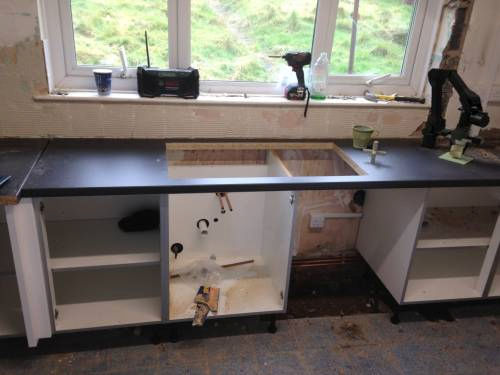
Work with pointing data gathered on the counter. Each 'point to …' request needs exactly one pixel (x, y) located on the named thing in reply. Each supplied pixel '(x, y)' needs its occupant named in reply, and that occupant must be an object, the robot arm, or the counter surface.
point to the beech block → (457, 150)
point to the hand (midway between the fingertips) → (457, 153)
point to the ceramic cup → (362, 136)
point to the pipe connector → (374, 152)
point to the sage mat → (461, 160)
